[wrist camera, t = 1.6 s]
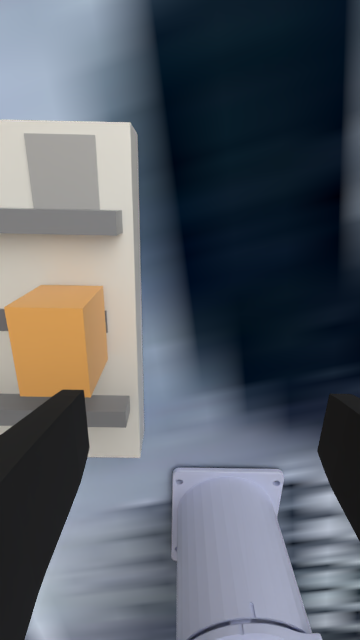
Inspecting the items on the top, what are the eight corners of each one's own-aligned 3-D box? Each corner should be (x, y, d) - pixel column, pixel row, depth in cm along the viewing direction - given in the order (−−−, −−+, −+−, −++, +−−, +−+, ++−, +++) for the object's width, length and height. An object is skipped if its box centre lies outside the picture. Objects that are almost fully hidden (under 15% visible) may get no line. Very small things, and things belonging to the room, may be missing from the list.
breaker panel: (144, 430, 22) (137, 477, 18) (-59, 427, 22) (-108, 474, 18) (137, 134, 16) (124, 113, 12) (-148, 127, 16) (-250, 104, 12)
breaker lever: (107, 359, 17) (90, 397, 14) (51, 358, 17) (20, 396, 14) (102, 286, 15) (82, 308, 12) (41, 284, 15) (3, 307, 12)
